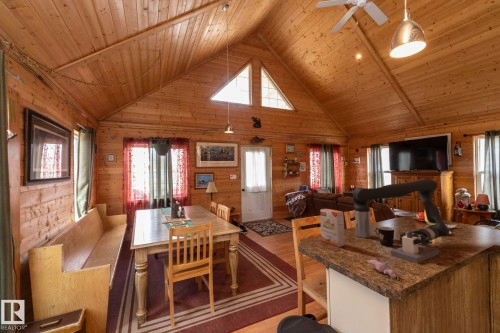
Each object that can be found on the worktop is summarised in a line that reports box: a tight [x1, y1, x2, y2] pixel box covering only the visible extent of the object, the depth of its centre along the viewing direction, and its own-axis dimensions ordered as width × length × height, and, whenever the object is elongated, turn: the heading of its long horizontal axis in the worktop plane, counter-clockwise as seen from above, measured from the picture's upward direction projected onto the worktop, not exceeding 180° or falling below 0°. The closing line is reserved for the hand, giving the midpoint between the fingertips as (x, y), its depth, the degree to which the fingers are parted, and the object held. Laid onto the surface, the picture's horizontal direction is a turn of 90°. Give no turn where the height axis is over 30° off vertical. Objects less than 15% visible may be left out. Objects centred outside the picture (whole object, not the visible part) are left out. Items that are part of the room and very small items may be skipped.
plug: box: [401, 230, 419, 255], centre depth 114 cm, size 5×5×13 cm
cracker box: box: [319, 208, 346, 248], centre depth 139 cm, size 14×6×21 cm, turn 27°
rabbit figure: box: [368, 259, 404, 280], centre depth 97 cm, size 6×6×15 cm
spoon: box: [445, 223, 458, 235], centre depth 158 cm, size 9×32×4 cm, turn 130°
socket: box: [390, 244, 440, 264], centre depth 116 cm, size 22×12×3 cm, turn 118°
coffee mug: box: [374, 226, 395, 248], centre depth 134 cm, size 12×9×10 cm
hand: (407, 240), depth 113 cm, fingers open, 5 cm apart
